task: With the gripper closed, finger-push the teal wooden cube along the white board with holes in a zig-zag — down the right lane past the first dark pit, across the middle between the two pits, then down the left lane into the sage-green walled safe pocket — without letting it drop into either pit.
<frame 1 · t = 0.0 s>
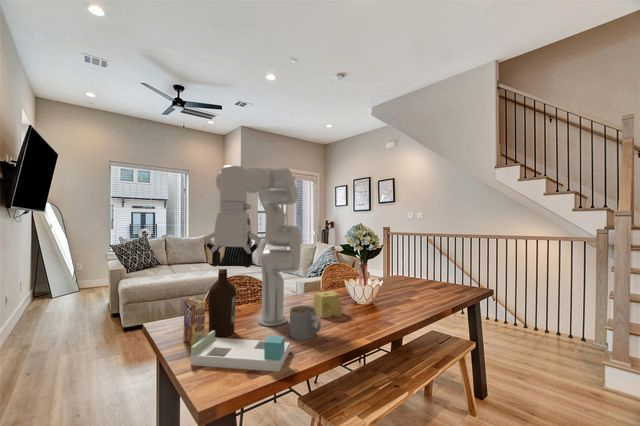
hand: (232, 266, 88), 31 cm above the table, fingers open, 9 cm apart
cheese: (327, 314, 143), on the table
olive oil: (221, 333, 118), on the table
white board with holes: (242, 357, 97), on the table
candy box: (193, 343, 109), on the table
block: (274, 355, 93), point 3 cm above the table, touching white board with holes
coffee mug: (305, 336, 116), on the table
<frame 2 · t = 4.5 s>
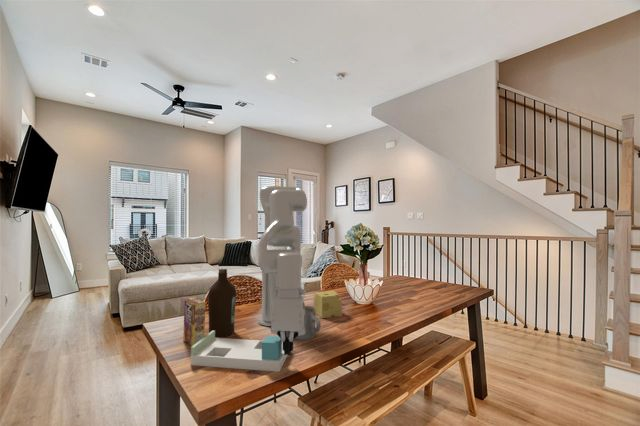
hand: (287, 352, 92), 4 cm above the table, fingers closed
block: (272, 355, 93), point 3 cm above the table, touching white board with holes, gripper
everything else where it was.
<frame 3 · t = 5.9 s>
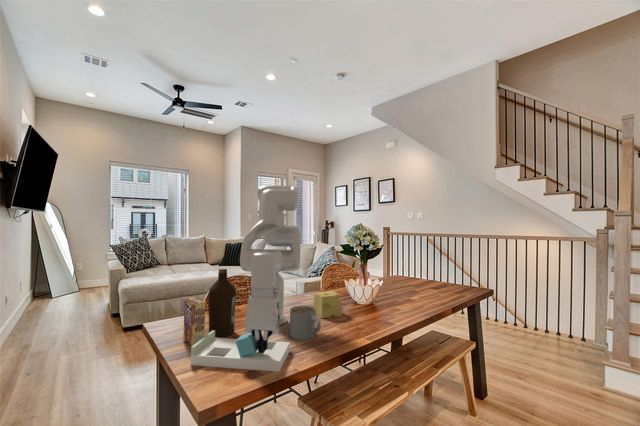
hand: (262, 351, 93), 4 cm above the table, fingers closed
block: (250, 351, 94), point 4 cm above the table, tilted 19°, touching white board with holes, gripper
everything else where it was.
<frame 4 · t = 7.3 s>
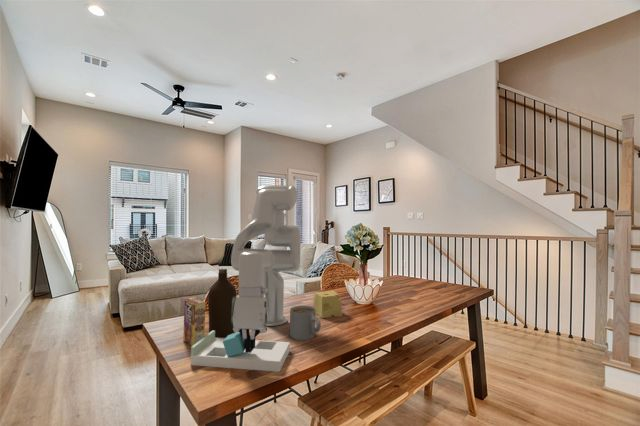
hand: (249, 350, 93), 4 cm above the table, fingers closed
block: (238, 351, 94), point 4 cm above the table, tilted 19°, touching white board with holes, gripper
everything else where it was.
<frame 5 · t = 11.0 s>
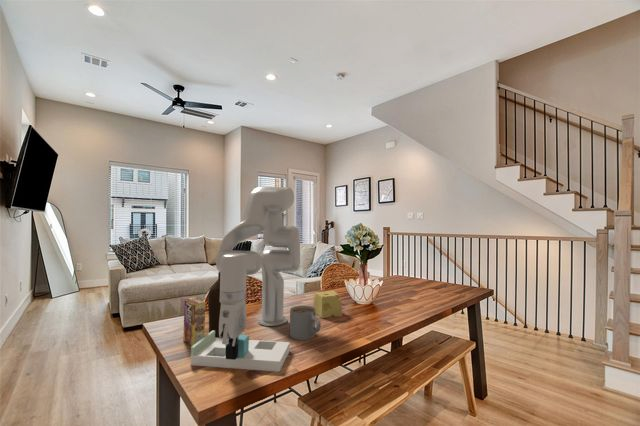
hand: (231, 358, 89), 4 cm above the table, fingers closed
block: (238, 353, 94), point 3 cm above the table, touching white board with holes, gripper
everything else where it was.
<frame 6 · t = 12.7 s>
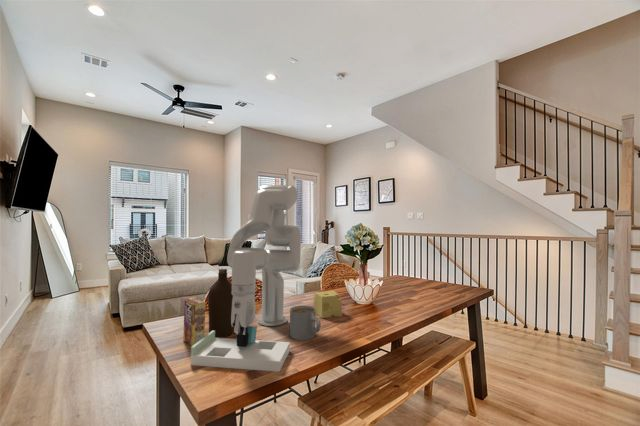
hand: (242, 345, 97), 4 cm above the table, fingers closed
block: (245, 341, 101), point 4 cm above the table, tilted 19°, touching gripper
everything else where it was.
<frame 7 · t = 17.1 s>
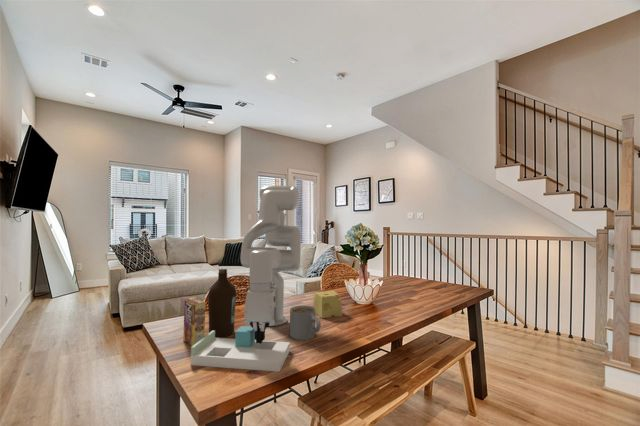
hand: (259, 341, 100), 4 cm above the table, fingers closed
block: (245, 344, 101), point 3 cm above the table, touching gripper
everything else where it was.
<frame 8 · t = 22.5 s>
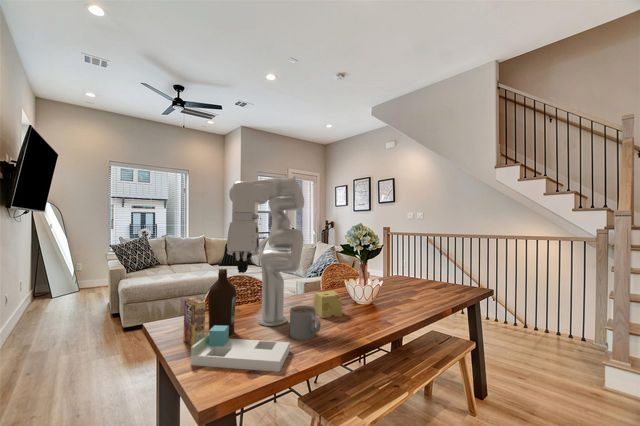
hand: (242, 272, 102), 27 cm above the table, fingers closed
block: (218, 343, 102), point 3 cm above the table, touching white board with holes
everything else where it was.
at the end: block 0.6 cm from the target spot on the white board with holes, point 3.0 cm above the white board with holes's base; block tilted 0° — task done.
